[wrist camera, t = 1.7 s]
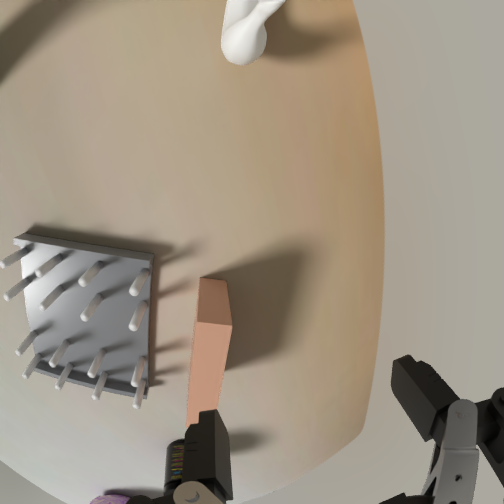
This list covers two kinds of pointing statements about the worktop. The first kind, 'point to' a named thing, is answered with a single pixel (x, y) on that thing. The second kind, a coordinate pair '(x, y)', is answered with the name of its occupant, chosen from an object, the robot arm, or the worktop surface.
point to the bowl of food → (110, 499)
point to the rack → (86, 313)
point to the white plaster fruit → (246, 29)
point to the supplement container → (173, 466)
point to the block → (208, 347)
